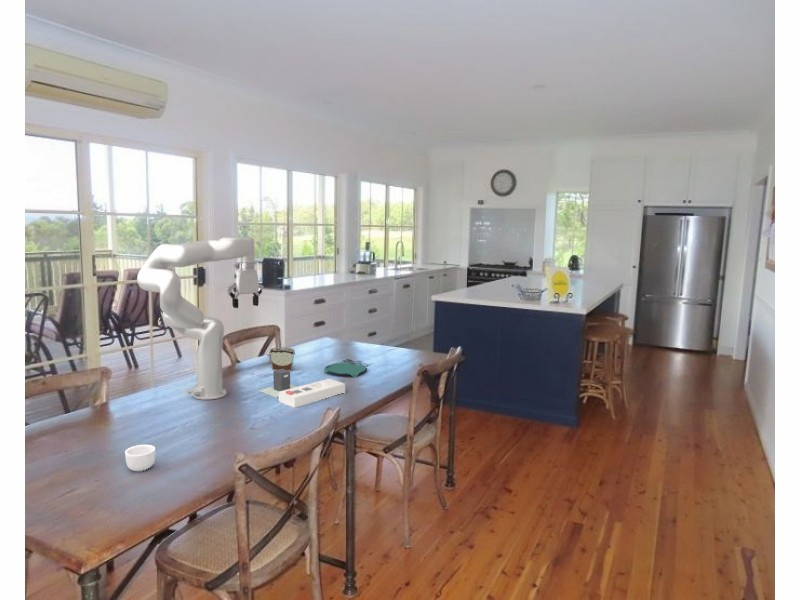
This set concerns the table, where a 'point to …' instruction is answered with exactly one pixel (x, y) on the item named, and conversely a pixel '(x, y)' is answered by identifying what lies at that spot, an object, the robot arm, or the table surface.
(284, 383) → the block
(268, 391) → the mat
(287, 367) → the food container
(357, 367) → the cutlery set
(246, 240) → the robot arm
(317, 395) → the power strip
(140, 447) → the teacup
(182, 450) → the table surface
